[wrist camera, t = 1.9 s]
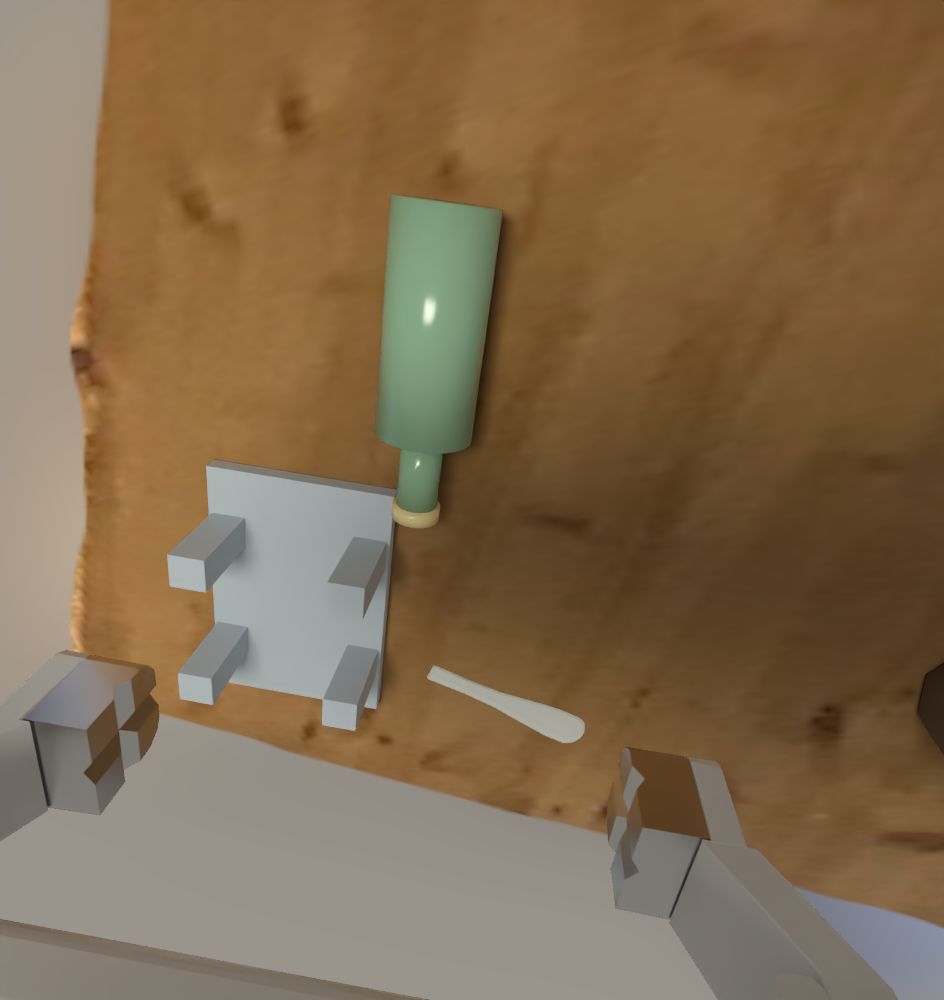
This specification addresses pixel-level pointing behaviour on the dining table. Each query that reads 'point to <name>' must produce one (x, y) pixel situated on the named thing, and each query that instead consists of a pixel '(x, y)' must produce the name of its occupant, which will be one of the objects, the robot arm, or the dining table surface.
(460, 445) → the bottle
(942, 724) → the beer bottle
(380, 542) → the rest
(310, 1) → the dining table surface
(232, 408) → the dining table surface
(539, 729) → the butter knife
